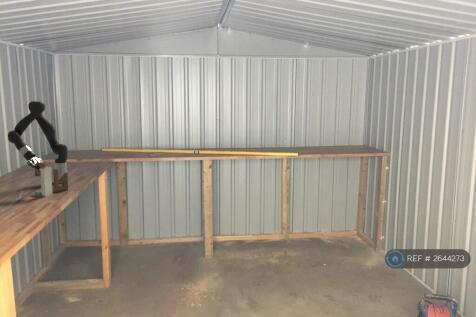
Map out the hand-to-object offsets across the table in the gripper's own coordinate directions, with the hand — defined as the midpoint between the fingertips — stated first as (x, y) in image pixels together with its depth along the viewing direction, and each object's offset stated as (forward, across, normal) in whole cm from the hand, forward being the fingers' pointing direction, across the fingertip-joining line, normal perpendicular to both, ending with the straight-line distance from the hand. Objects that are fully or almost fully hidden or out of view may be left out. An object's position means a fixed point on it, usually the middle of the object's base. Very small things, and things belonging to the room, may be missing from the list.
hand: (42, 170), depth 315 cm
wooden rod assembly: (+17, +16, +11) cm, 26 cm away
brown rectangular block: (+2, 0, +5) cm, 5 cm away
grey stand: (+13, 0, +15) cm, 19 cm away
